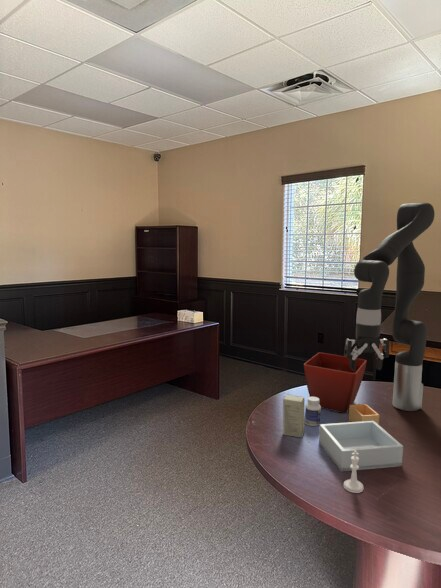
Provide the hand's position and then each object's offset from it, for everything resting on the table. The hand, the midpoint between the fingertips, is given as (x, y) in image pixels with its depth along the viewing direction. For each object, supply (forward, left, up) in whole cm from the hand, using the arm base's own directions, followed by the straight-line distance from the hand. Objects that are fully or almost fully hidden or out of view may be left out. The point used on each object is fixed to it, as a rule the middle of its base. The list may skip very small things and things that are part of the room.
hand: (365, 369), depth 136 cm
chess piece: (+18, +31, -20) cm, 41 cm away
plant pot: (+1, -19, -20) cm, 28 cm away
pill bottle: (+15, -5, -20) cm, 26 cm away
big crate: (+9, +16, -20) cm, 27 cm away
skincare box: (+24, +1, -20) cm, 32 cm away
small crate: (-1, 0, -20) cm, 20 cm away
